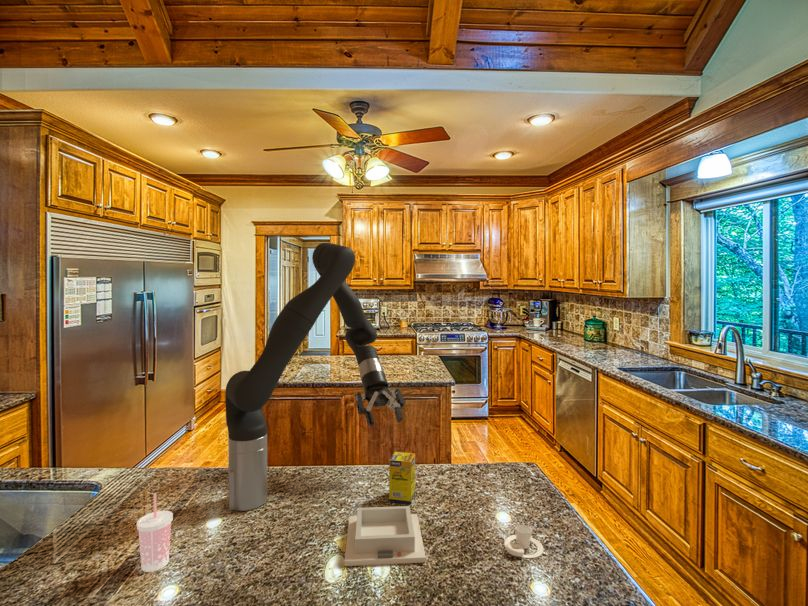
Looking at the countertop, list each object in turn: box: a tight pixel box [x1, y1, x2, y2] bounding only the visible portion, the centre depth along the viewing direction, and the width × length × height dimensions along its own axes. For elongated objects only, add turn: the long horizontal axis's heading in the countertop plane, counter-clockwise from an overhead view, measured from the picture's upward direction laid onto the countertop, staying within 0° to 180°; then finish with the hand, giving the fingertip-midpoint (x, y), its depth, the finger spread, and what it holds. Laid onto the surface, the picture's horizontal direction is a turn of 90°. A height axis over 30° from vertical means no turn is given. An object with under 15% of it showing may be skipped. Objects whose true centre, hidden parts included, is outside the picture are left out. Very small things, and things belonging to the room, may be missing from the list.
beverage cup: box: [136, 492, 174, 573], centre depth 79 cm, size 6×6×14 cm
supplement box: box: [388, 451, 416, 505], centre depth 105 cm, size 6×6×11 cm
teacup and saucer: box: [503, 524, 544, 559], centre depth 85 cm, size 9×8×4 cm
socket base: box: [343, 505, 427, 567], centre depth 87 cm, size 16×16×4 cm
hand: (386, 423), depth 116 cm, fingers open, 8 cm apart
